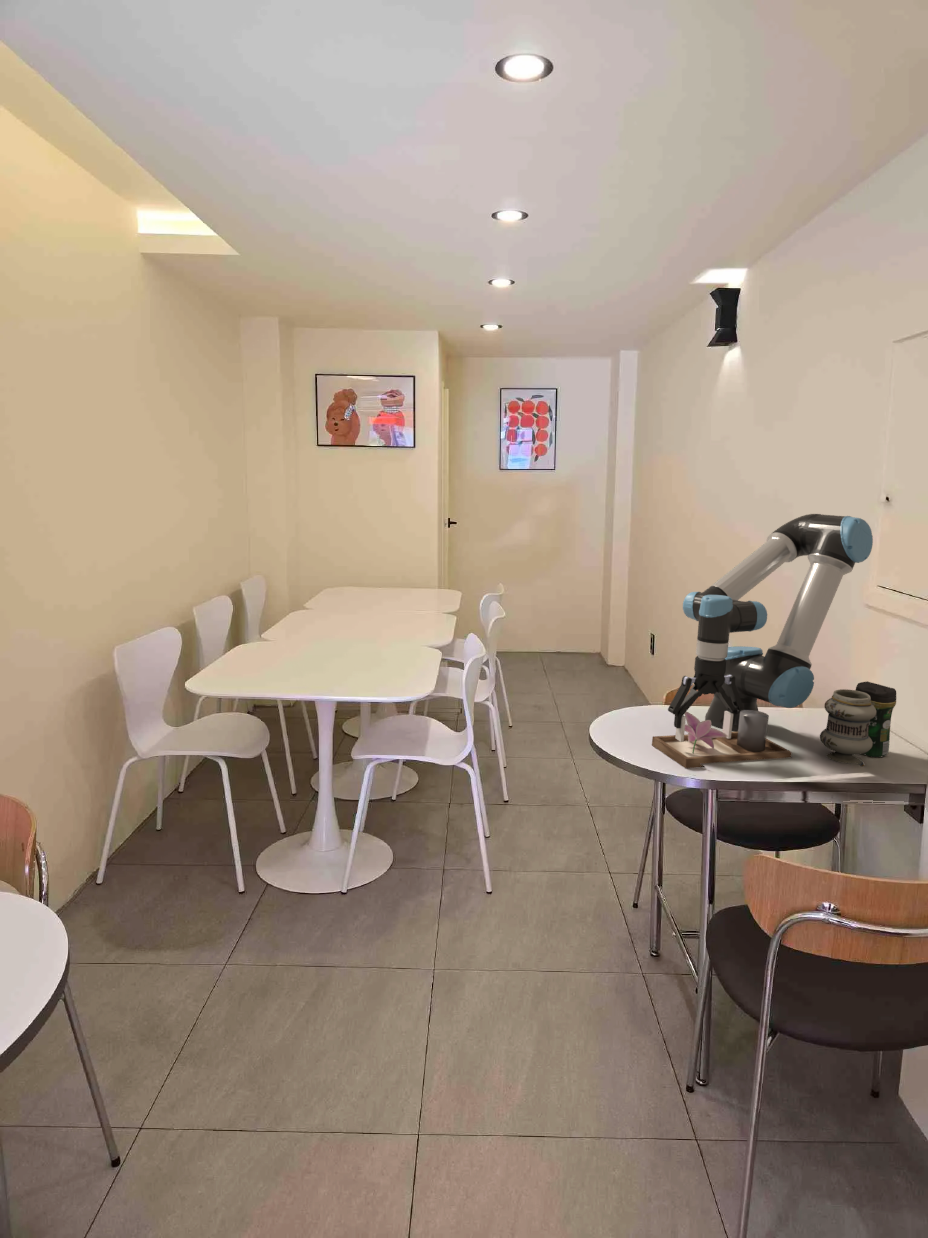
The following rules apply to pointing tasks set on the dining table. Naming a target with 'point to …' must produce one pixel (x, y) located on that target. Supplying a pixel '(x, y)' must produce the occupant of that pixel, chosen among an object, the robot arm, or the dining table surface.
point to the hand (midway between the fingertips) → (703, 738)
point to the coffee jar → (879, 716)
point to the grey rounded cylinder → (752, 730)
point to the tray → (713, 750)
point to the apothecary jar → (848, 725)
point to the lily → (701, 730)
